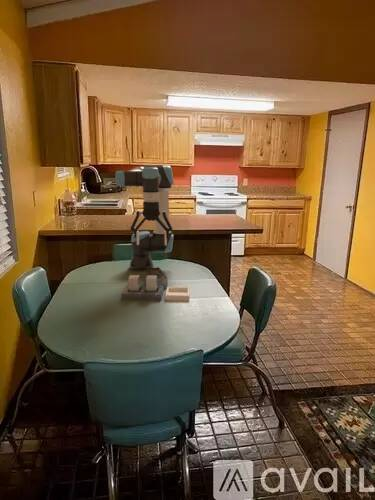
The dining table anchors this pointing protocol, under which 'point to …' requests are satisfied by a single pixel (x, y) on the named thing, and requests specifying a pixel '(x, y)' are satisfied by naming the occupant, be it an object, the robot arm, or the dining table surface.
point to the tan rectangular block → (151, 283)
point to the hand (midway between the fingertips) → (151, 244)
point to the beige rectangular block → (134, 283)
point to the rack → (143, 294)
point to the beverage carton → (158, 276)
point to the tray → (177, 293)
